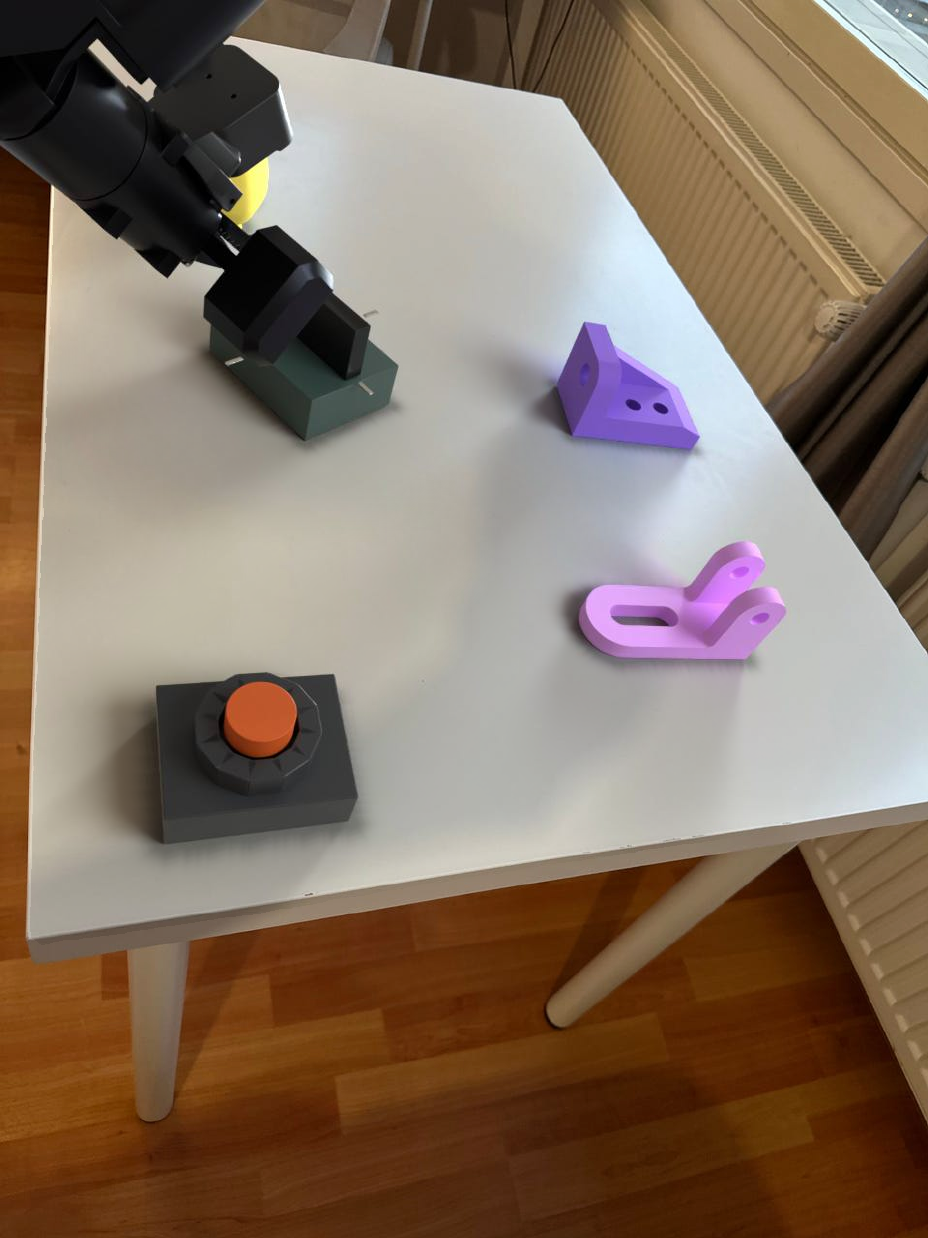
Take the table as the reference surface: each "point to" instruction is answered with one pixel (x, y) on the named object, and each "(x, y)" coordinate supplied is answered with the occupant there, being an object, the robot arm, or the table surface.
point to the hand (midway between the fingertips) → (261, 291)
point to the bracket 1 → (621, 396)
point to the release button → (259, 719)
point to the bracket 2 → (689, 612)
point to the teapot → (249, 193)
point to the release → (250, 762)
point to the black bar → (337, 337)
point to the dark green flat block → (312, 384)
